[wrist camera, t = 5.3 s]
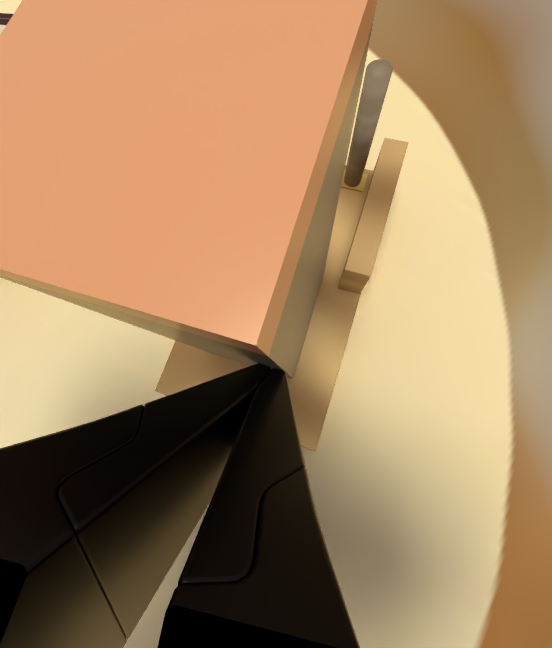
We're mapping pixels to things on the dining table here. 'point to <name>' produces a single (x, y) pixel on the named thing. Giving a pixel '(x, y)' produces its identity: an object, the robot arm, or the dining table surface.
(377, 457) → the dining table surface
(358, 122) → the wooden stand
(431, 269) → the dining table surface
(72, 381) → the dining table surface
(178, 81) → the plug block
